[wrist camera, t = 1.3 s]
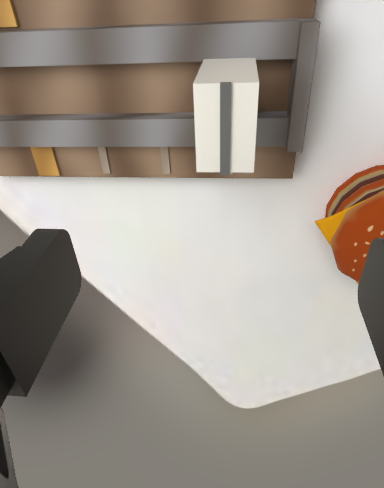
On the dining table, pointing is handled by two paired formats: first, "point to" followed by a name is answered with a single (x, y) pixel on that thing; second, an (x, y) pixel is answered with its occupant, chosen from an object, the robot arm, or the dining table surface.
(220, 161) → the fader tab
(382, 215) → the hamburger
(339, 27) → the dining table surface
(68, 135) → the fader console
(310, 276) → the dining table surface
